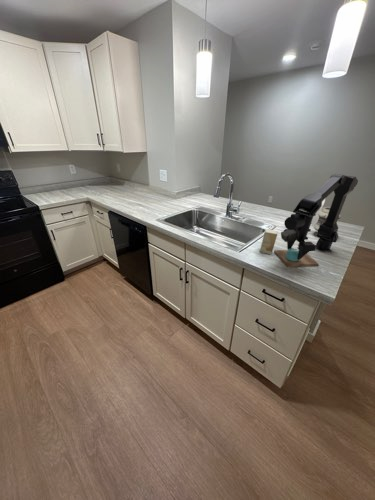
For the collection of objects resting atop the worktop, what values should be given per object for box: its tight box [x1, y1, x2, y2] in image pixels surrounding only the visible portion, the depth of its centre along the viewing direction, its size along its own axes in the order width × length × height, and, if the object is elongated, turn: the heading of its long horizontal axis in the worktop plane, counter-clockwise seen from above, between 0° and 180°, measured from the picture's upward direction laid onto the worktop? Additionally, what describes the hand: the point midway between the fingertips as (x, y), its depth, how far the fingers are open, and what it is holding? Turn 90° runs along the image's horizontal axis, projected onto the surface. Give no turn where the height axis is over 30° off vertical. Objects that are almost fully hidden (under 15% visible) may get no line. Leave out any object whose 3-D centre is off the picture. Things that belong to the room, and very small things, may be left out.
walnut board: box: [273, 249, 320, 268], centre depth 103 cm, size 16×14×1 cm
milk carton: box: [311, 197, 327, 226], centre depth 144 cm, size 7×7×19 cm
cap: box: [286, 247, 299, 261], centre depth 99 cm, size 6×6×4 cm
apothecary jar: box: [312, 206, 342, 239], centre depth 124 cm, size 12×12×18 cm
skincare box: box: [259, 228, 279, 255], centre depth 106 cm, size 6×4×12 cm
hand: (293, 254), depth 99 cm, fingers open, 9 cm apart
